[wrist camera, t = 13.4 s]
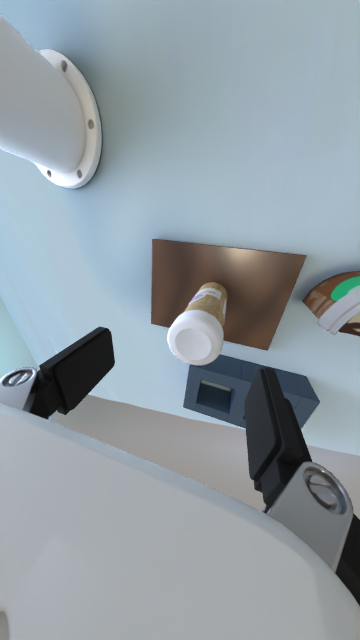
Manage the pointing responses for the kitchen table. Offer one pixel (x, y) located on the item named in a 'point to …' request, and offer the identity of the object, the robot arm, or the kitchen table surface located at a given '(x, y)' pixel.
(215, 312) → the sprinkles bottle
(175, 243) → the board
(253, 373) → the dark grey cinder block
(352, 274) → the food container
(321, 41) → the kitchen table surface
